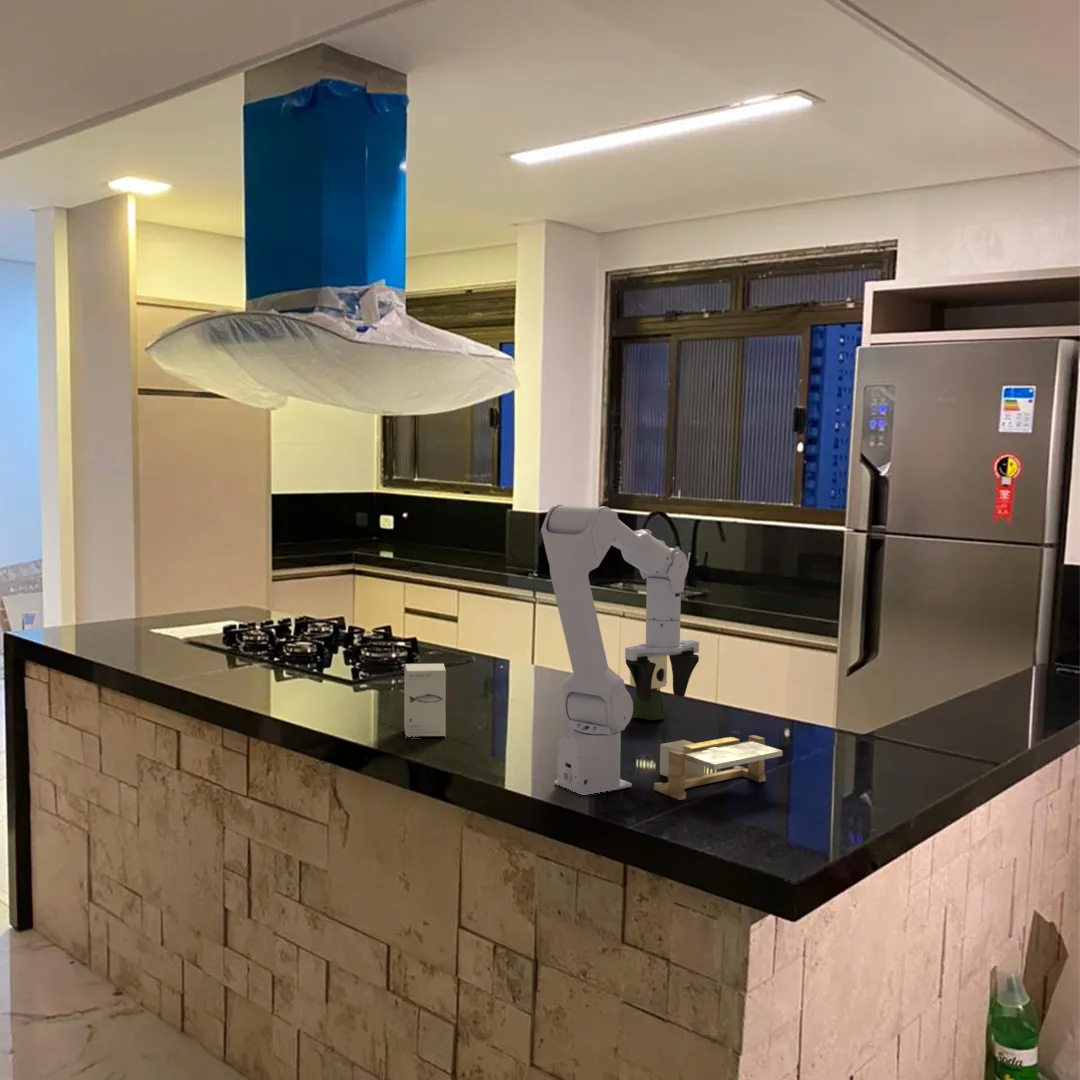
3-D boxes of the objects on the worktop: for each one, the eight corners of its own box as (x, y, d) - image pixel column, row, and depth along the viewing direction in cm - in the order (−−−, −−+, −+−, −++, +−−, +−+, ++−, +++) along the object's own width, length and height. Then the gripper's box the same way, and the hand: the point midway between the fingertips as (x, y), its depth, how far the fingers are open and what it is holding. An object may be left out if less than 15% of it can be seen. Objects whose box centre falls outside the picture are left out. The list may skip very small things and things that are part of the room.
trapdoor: (713, 772, 158) (713, 762, 158) (671, 758, 166) (672, 747, 166) (783, 758, 166) (783, 747, 166) (740, 744, 174) (740, 734, 174)
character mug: (659, 727, 206) (660, 659, 205) (622, 724, 208) (623, 657, 207) (671, 714, 216) (673, 650, 215) (637, 711, 218) (638, 647, 217)
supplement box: (405, 740, 195) (405, 670, 194) (404, 729, 203) (403, 662, 202) (446, 738, 197) (446, 669, 196) (443, 728, 204) (443, 662, 203)
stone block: (680, 782, 171) (680, 751, 171) (659, 774, 176) (660, 744, 175) (704, 777, 174) (704, 746, 174) (683, 769, 178) (683, 739, 178)
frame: (679, 800, 162) (680, 755, 162) (653, 789, 167) (654, 746, 167) (765, 781, 172) (766, 738, 172) (738, 771, 177) (739, 730, 177)
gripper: (644, 625, 175) (643, 708, 176) (711, 618, 183) (710, 697, 184) (617, 619, 181) (616, 700, 182) (683, 613, 189) (682, 690, 190)
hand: (661, 698), depth 183 cm, fingers open, 7 cm apart
